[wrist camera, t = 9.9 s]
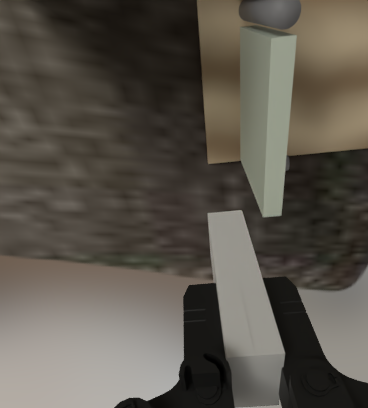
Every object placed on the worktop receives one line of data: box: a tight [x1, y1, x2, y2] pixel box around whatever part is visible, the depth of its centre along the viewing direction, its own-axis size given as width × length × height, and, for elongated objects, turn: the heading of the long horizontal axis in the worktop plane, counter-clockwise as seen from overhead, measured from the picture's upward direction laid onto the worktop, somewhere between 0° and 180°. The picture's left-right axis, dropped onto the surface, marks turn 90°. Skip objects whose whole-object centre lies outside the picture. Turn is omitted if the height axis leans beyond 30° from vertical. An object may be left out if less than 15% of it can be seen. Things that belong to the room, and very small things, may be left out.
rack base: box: [197, 0, 368, 164], centre depth 21 cm, size 15×15×11 cm
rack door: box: [239, 0, 301, 217], centre depth 21 cm, size 12×3×9 cm, turn 6°
